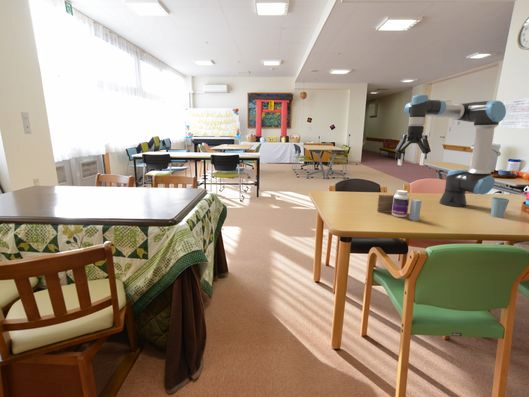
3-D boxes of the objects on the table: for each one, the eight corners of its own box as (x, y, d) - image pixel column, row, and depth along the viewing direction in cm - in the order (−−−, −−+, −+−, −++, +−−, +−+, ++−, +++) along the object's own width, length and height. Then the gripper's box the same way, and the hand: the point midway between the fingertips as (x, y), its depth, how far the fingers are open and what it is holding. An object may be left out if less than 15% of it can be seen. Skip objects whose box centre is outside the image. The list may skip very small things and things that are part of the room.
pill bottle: (408, 218, 162) (412, 193, 159) (393, 217, 164) (396, 192, 160) (404, 214, 170) (408, 190, 166) (390, 213, 171) (393, 189, 168)
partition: (396, 210, 177) (398, 192, 175) (418, 220, 158) (421, 201, 156) (391, 210, 177) (393, 192, 174) (413, 220, 158) (416, 201, 155)
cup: (506, 216, 170) (510, 199, 167) (504, 219, 164) (508, 201, 162) (490, 213, 175) (493, 196, 172) (487, 216, 170) (491, 198, 167)
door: (398, 212, 173) (401, 195, 171) (377, 211, 174) (379, 195, 171) (397, 211, 175) (399, 194, 173) (376, 210, 176) (378, 194, 174)
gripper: (431, 126, 162) (425, 164, 167) (390, 125, 158) (386, 164, 163) (442, 126, 155) (435, 166, 160) (399, 125, 150) (394, 166, 156)
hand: (410, 165), depth 161 cm, fingers open, 13 cm apart
